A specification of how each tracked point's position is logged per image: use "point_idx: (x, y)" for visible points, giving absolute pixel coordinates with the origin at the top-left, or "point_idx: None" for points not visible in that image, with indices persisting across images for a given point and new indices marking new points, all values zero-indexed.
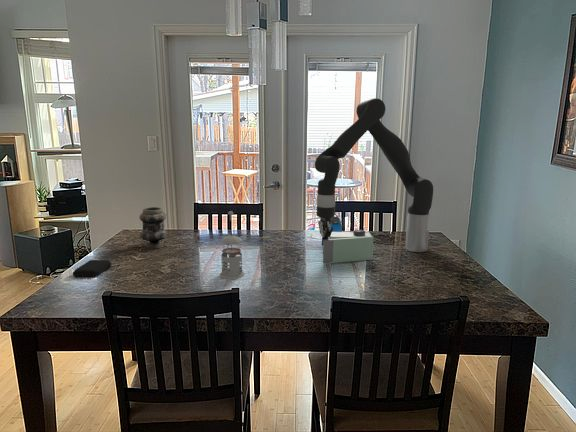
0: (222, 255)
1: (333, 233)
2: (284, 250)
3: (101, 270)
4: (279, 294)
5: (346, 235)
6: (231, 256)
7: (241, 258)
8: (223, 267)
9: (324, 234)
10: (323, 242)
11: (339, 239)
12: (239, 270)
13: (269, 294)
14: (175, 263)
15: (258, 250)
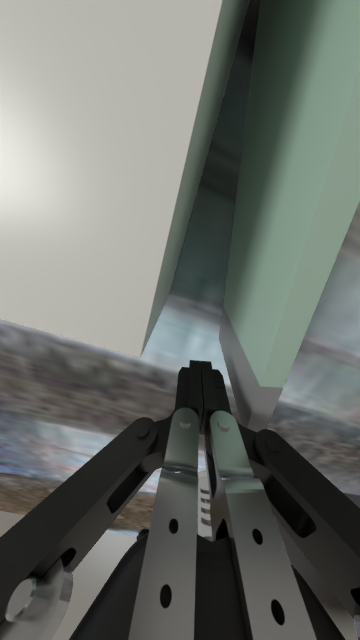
0: (206, 538)
1: (24, 287)
2: (68, 388)
3: None
4: (353, 461)
5: (108, 130)
6: (198, 520)
7: None
8: (203, 499)
9: (273, 494)
10: (242, 416)
11: (302, 336)
12: None
13: (339, 469)
14: (143, 504)
15: (74, 429)
